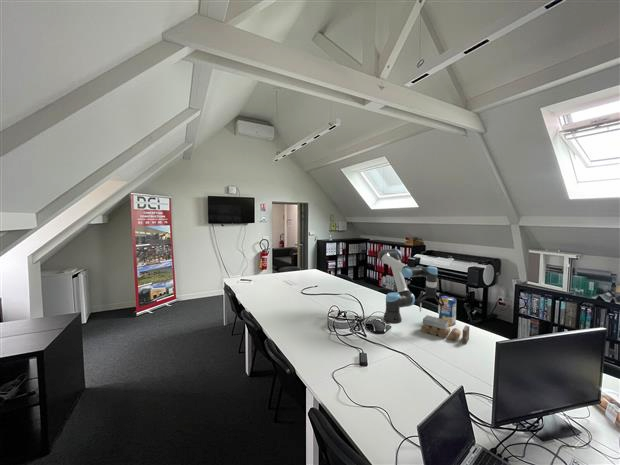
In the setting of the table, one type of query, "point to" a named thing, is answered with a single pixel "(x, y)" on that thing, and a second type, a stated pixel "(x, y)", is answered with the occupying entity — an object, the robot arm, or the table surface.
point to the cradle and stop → (464, 335)
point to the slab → (436, 322)
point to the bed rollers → (435, 330)
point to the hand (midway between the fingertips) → (429, 312)
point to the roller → (454, 334)
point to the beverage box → (448, 310)
